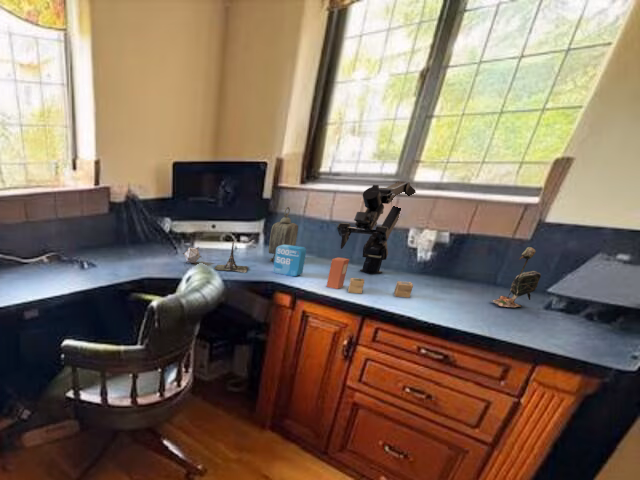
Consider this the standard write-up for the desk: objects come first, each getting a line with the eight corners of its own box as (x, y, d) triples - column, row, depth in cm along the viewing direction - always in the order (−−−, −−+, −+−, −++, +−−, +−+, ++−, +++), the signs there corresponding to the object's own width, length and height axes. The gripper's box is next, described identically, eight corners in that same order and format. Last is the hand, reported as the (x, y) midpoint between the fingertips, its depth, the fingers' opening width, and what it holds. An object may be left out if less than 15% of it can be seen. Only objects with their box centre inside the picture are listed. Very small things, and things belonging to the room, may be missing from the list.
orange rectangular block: (331, 284, 173) (337, 257, 167) (343, 286, 170) (349, 259, 164) (326, 286, 170) (332, 259, 165) (337, 289, 167) (343, 261, 162)
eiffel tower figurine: (248, 267, 201) (252, 238, 194) (245, 272, 193) (249, 242, 186) (217, 265, 206) (219, 237, 199) (213, 270, 198) (215, 240, 191)
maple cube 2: (393, 293, 161) (397, 281, 158) (407, 294, 159) (411, 282, 157) (395, 296, 157) (398, 284, 155) (409, 297, 155) (413, 285, 153)
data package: (272, 272, 192) (276, 245, 186) (277, 270, 194) (281, 243, 188) (297, 277, 184) (301, 249, 178) (302, 275, 186) (307, 247, 180)
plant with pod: (534, 310, 140) (563, 249, 131) (493, 307, 144) (519, 247, 134) (524, 303, 147) (550, 244, 137) (485, 300, 151) (508, 242, 141)
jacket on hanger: (276, 256, 219) (283, 205, 207) (293, 258, 215) (302, 206, 202) (266, 262, 209) (273, 208, 197) (284, 264, 204) (293, 209, 192)
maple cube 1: (347, 289, 166) (350, 277, 164) (360, 290, 165) (363, 278, 162) (348, 292, 163) (351, 280, 160) (361, 293, 161) (364, 281, 159)
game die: (194, 270, 213) (208, 254, 209) (188, 267, 206) (201, 250, 202) (183, 259, 216) (195, 243, 212) (176, 256, 209) (189, 239, 204)
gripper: (344, 201, 168) (325, 234, 168) (394, 204, 156) (374, 240, 155) (348, 219, 176) (331, 251, 176) (397, 223, 164) (378, 257, 163)
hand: (352, 249), depth 167 cm, fingers open, 9 cm apart
